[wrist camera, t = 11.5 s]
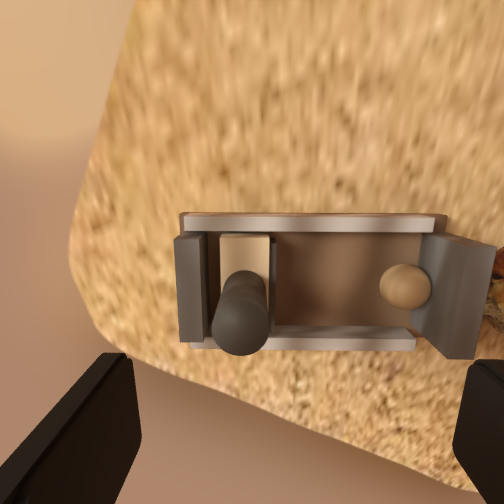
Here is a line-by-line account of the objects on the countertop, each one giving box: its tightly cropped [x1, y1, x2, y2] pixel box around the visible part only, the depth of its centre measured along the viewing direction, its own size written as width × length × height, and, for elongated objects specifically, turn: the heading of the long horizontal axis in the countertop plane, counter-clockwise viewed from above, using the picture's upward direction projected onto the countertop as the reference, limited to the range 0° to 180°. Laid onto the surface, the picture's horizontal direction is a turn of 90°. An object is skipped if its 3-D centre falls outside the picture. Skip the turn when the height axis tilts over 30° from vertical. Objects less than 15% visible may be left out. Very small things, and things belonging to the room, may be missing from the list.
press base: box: [174, 212, 497, 360], centre depth 26 cm, size 24×12×8 cm, turn 90°
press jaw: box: [212, 231, 277, 356], centre depth 23 cm, size 5×9×10 cm, turn 0°
